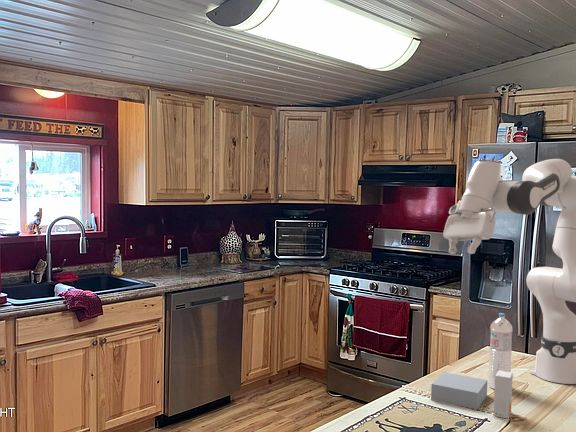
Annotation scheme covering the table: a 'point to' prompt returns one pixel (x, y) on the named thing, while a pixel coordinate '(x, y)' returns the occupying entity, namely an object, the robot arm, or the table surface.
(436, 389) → the base block
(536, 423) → the table surface
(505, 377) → the skincare box
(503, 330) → the water bottle
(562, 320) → the robot arm
